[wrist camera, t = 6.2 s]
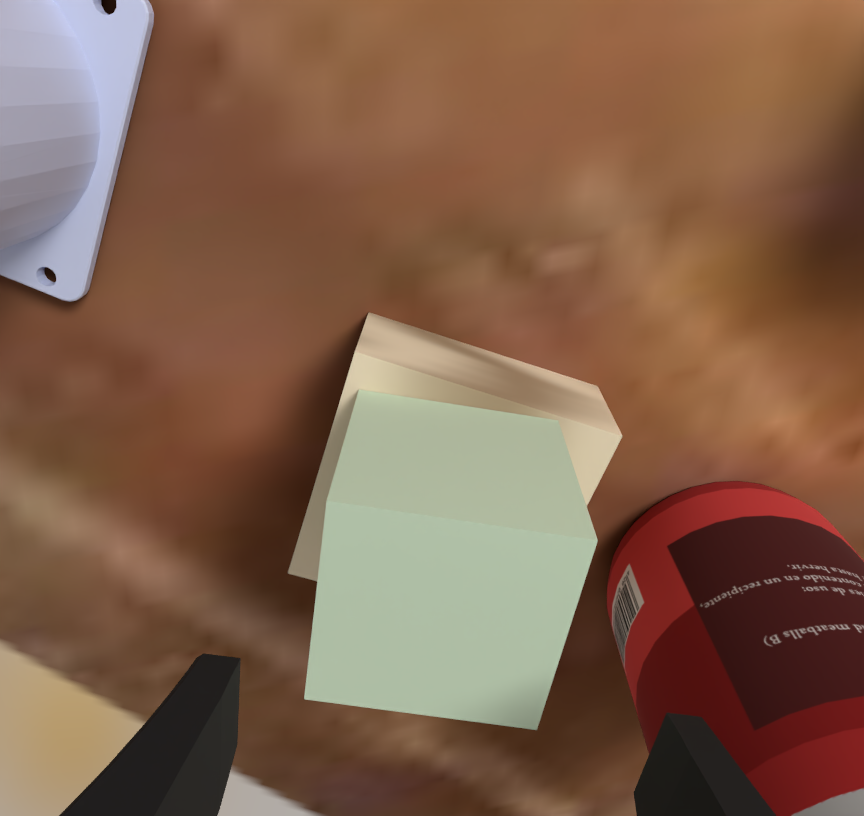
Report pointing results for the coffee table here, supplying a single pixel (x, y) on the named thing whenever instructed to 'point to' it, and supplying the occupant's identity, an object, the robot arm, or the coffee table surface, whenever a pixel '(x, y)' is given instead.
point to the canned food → (749, 637)
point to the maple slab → (462, 385)
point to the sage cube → (448, 562)
